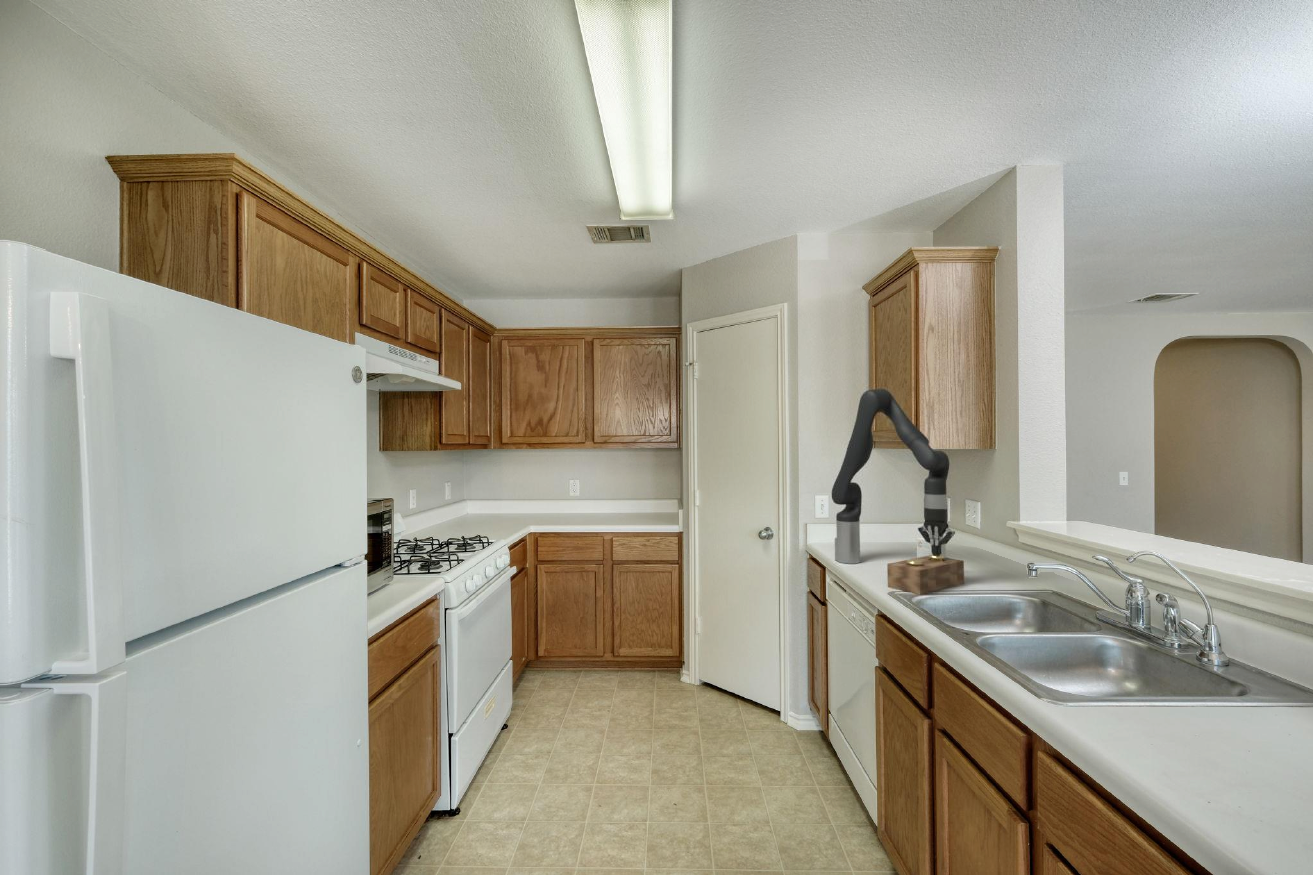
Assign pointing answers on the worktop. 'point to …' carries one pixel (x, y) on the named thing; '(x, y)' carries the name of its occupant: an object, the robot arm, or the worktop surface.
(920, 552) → the small box
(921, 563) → the plunger
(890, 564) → the socket block
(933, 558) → the plunger
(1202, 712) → the worktop surface
